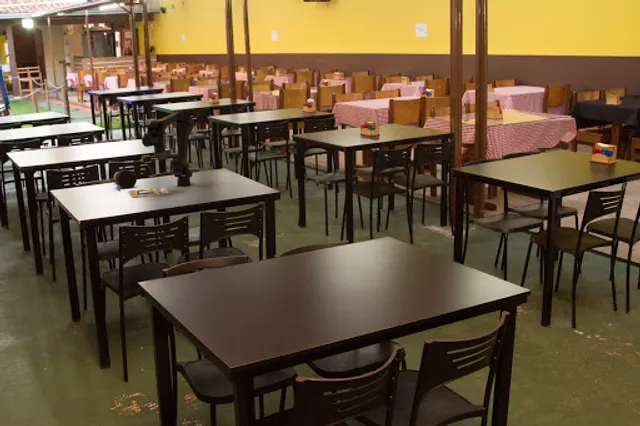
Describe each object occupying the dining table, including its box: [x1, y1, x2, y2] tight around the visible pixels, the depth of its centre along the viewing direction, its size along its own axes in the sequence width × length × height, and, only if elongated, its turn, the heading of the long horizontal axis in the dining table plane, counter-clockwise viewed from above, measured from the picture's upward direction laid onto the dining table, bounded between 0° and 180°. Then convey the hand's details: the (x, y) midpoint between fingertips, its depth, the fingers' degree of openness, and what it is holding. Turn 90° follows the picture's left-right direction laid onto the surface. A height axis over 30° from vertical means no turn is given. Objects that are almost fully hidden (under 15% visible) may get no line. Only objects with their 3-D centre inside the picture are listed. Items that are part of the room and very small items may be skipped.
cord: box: [160, 187, 170, 194], centre depth 369 cm, size 3×7×3 cm, turn 24°
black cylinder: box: [113, 169, 138, 190], centre depth 399 cm, size 10×34×10 cm, turn 23°
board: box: [127, 187, 161, 199], centre depth 367 cm, size 14×18×4 cm
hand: (161, 173), depth 366 cm, fingers open, 9 cm apart
